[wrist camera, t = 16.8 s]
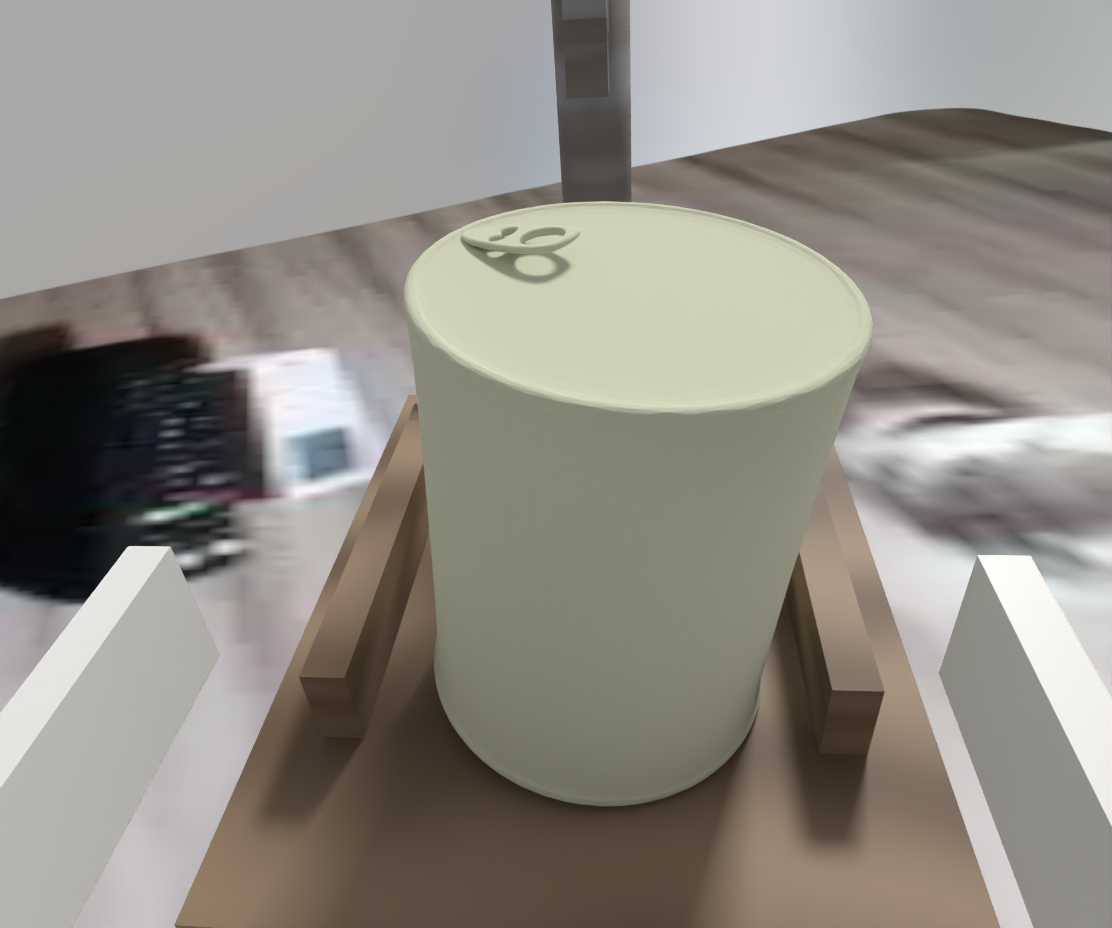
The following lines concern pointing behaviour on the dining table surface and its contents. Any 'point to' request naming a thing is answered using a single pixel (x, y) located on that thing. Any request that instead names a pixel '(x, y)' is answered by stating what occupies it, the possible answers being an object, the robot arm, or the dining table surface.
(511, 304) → the can
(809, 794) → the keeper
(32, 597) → the dining table surface
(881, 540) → the dining table surface
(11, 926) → the robot arm
